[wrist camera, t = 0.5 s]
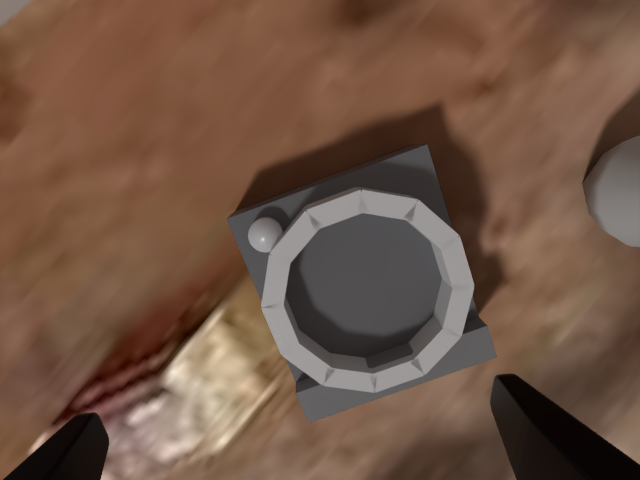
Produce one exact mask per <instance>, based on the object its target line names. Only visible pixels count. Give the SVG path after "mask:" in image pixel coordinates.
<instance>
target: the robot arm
mask: <svg viewBox="0 0 640 480" xmlns="http://www.w3.org/2000/svg"><path fill="white" fill-rule="evenodd" d="M490 404H491V409H492V413H493V415H494V418H495V421H496V424H497V427H498V429H499V432H500V435H501V438H502V441H503V443H504V446H505V449H506V452H507V455H508V458H509V460H510V463H511V466H512V469H513V471H514V474H515V476H516V479H517V480H640V465H639V464H638V463H637V462H635V461H634V460H632V459H631V458H630V457H628V456H627V455H626V454H624V453H623V452H621V451H620V450H619V449H617V448H616V447H615V446H613V445H612V444H610V443H609V442H608V441H606V440H605V439H604V438H602V437H601V436H599V435H598V434H597V433H595V432H594V431H593V430H591V429H590V428H588V427H587V426H586V425H584V424H583V423H582V422H580V421H579V420H577V419H576V418H575V417H573V416H572V415H571V414H569V413H568V412H566V411H565V410H564V409H562V408H561V407H560V406H558V405H557V404H556V403H554V402H553V401H551V400H550V399H549V398H547V397H546V396H545V395H543V394H542V393H540V392H539V391H538V390H536V389H535V388H534V387H532V386H531V385H529V384H528V383H527V382H525V381H524V380H523V379H521V378H520V377H518V376H517V375H515V374H501V375H496V376H495V378H494V382H493V388H492V393H491V399H490ZM108 447H109V437H108V434H107V432H106V430H105V427H104V425H103V423H102V421H101V419H100V416H99V415H98V414H97V413H94V412H93V413H83V414H78V415H76V416H74V417H73V418H72V419H71V420H70V421H68V422H67V423H66V424H65V425H64V426H63V427H62V428H61V429H59V430H58V431H57V432H56V433H55V434H54V435H53V436H52V437H50V438H49V439H48V440H47V441H46V442H45V443H44V444H42V445H41V446H40V447H39V448H38V449H37V450H36V451H35V452H33V453H32V454H31V455H30V456H29V457H28V458H27V459H26V460H24V461H23V462H22V463H21V464H20V465H19V466H18V467H17V468H15V469H14V470H13V471H12V472H11V473H10V474H9V475H8V476H6V477H5V478H4V479H3V480H100V479H101V475H102V471H103V467H104V463H105V459H106V455H107V451H108Z"/></svg>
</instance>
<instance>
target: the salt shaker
mask: <svg viewBox="0 0 640 480" xmlns="http://www.w3.org/2000/svg"><path fill="white" fill-rule="evenodd" d="M582 185H583V189H584V193H585V198H586V202H587V206H588V210H589V214H590V215H591V217H592V218H593V219H594V220H595V221H596V222H597V223H598V225H599V226H600V227H601V228H602V229H603V230H604V231H605V232H607V233H608V234H610V235H611V236H613V237H615V238H616V239H618V240H619V241H621V242H623V243H625V244H627V245H629V246H632V247H640V135H639V136H636V137H633V138H630V139H628V140H625V141H623V142H621V143H620V144H618V145H617V146H615V147H613V148H612V149H610V150H608V151H607V152H605V153H604V154H602V156H601V157H600V159H599V160H598V161H597V163H596V164H595V166H594V167H593V169H592V170H591V172H590V173H589V174H588V176H587V177H586V179H585V180H584V182H583V183H582Z"/></svg>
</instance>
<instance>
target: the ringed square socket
mask: <svg viewBox="0 0 640 480" xmlns="http://www.w3.org/2000/svg"><path fill="white" fill-rule="evenodd" d="M227 221H228V223H229V225H230V228H231V230H232V233H233V235H234V237H235V240H236V242H237V244H238V247H239V249H240V251H241V254H242V256H243V258H244V261H245V263H246V265H247V268H248V270H249V273H250V275H251V277H252V280H253V282H254V284H255V287H256V289H257V291H258V294H259V296H260V298H261V301H262V304H261V309H262V311H263V314H264V316H265V318H266V321H267V323H268V325H269V328H270V330H271V332H272V335H273V337H274V339H275V342H276V344H277V346H278V349H279V351H280V354H281V355H282V356H283V357H284V358H285V359H286V360H287V362H288V364H289V367H290V369H291V371H292V374H293V376H294V379H295V381H296V395H297V397H298V400H299V402H300V404H301V407H302V409H303V411H304V414H305V416H306V418H307V421H308V423H310V422H313V421H315V420H318V419H321V418H324V417H327V416H330V415H333V414H335V413H338V412H341V411H344V410H347V409H350V408H353V407H355V406H358V405H361V404H364V403H367V402H370V401H373V400H375V399H378V398H381V397H384V396H387V395H390V394H393V393H396V392H398V391H401V390H404V389H407V388H410V387H413V386H416V385H418V384H421V383H424V382H427V381H430V380H433V379H436V378H438V377H441V376H444V375H447V374H450V373H453V372H456V371H458V370H461V369H464V368H467V367H470V366H473V365H476V364H478V363H481V362H484V361H487V360H490V359H493V358H496V357H497V356H496V353H495V349H494V346H493V343H492V339H491V336H490V332H489V329H488V326H487V325H486V324H485V323H484V322H483V321H482V320H481V319H480V318H479V316H478V312H477V309H476V306H475V302H474V299H473V296H472V295H473V291H474V288H475V287H474V286H475V285H474V282H473V279H472V275H471V272H470V268H469V265H468V262H467V258H466V255H465V252H464V248H463V245H462V241H461V238H460V236H459V235H458V234H457V233H456V232H455V231H454V230H453V229H452V225H451V222H450V218H449V215H448V212H447V208H446V205H445V202H444V198H443V195H442V192H441V188H440V185H439V182H438V178H437V175H436V172H435V168H434V165H433V161H432V158H431V155H430V151H429V148H428V145H427V144H417V145H411V146H408V147H406V148H403V149H400V150H398V151H395V152H392V153H389V154H387V155H384V156H381V157H379V158H376V159H373V160H371V161H368V162H365V163H363V164H360V165H357V166H355V167H352V168H349V169H347V170H344V171H341V172H338V173H336V174H333V175H330V176H328V177H325V178H322V179H320V180H317V181H314V182H312V183H309V184H306V185H304V186H301V187H298V188H296V189H293V190H290V191H287V192H285V193H282V194H279V195H277V196H274V197H271V198H269V199H266V200H263V201H261V202H258V203H255V204H253V205H250V206H247V207H245V208H242V209H239V210H236V211H235V212H234V213H232V214H231V215H230V216H229V217H228V218H227Z"/></svg>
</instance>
